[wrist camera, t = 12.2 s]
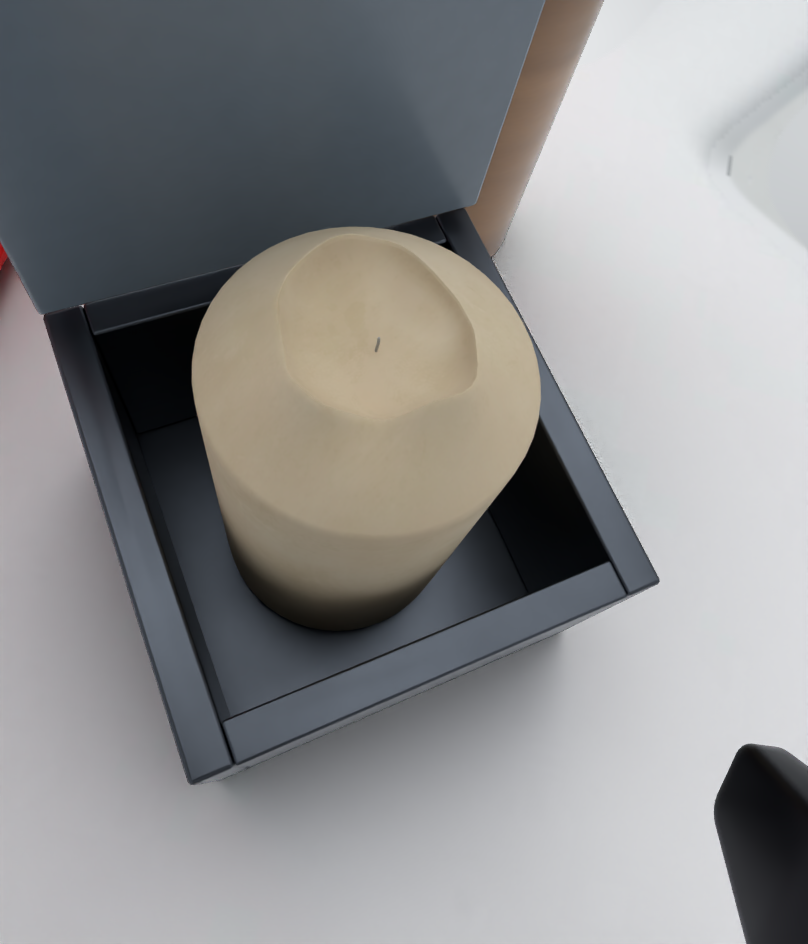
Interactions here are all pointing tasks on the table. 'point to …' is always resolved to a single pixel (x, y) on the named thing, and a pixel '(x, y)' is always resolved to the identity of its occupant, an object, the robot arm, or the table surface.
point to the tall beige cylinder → (532, 113)
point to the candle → (358, 417)
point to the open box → (244, 615)
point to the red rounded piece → (2, 256)
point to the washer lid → (236, 128)
